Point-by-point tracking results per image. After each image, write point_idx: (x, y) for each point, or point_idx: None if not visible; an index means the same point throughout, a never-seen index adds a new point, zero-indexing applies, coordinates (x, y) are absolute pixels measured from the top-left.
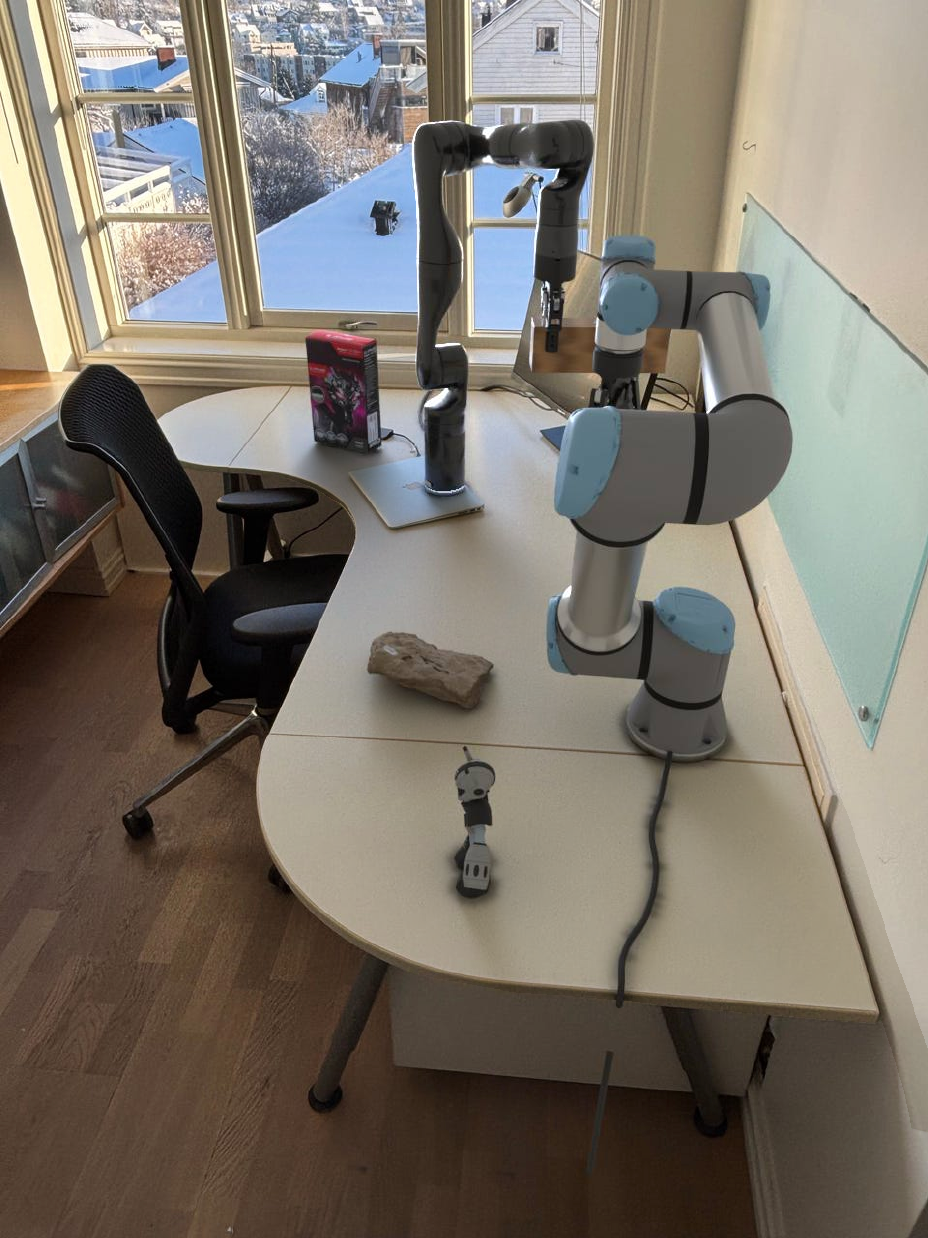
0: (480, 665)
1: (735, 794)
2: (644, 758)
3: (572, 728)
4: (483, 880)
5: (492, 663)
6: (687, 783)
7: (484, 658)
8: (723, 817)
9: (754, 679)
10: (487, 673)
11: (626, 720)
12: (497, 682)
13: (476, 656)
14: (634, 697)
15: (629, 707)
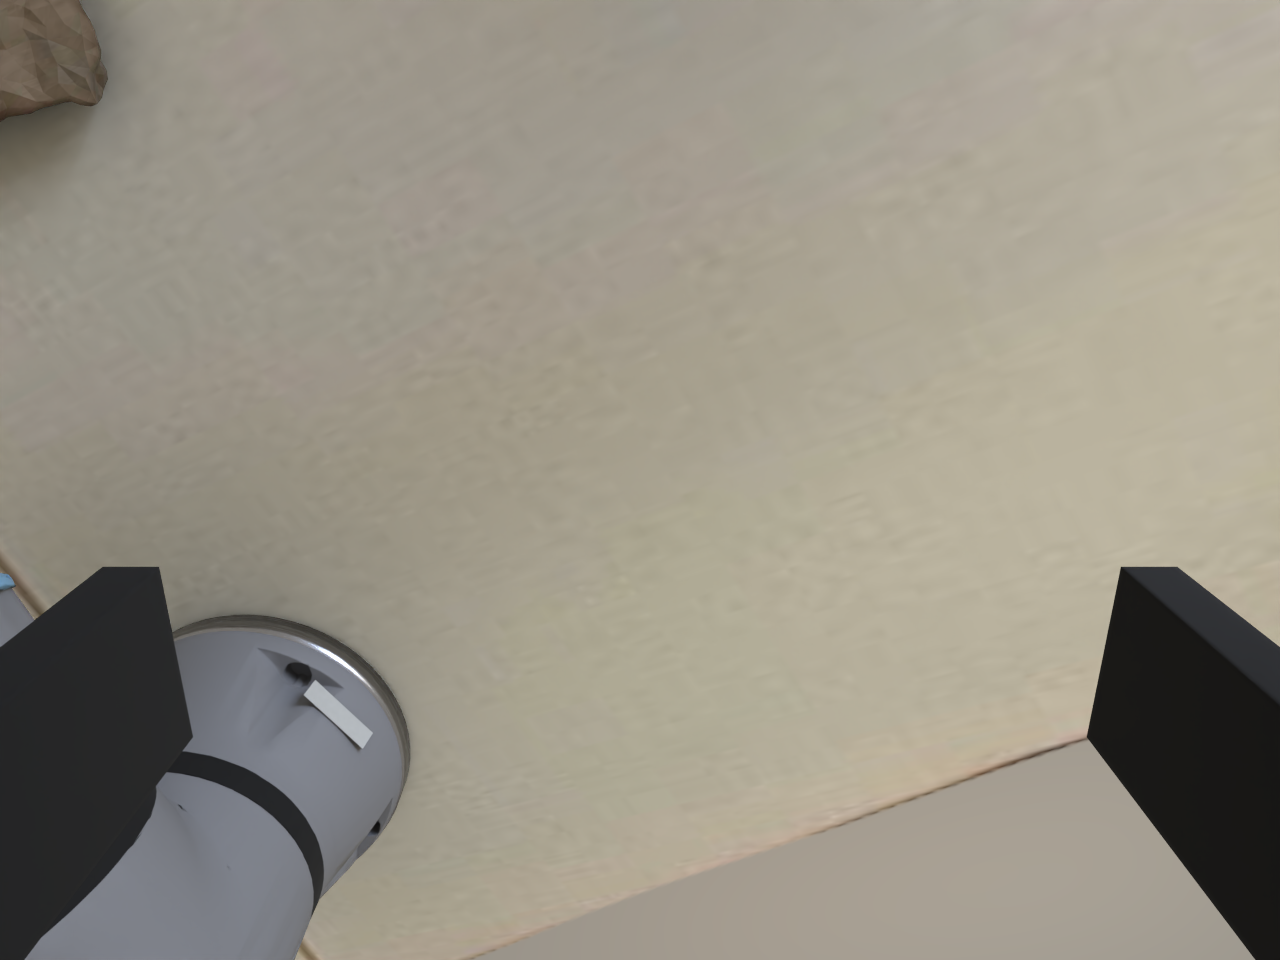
0: (3, 70)
1: None
2: None
3: (63, 496)
4: None
5: (89, 96)
6: None
7: (84, 48)
8: None
9: (629, 845)
10: (15, 115)
11: (175, 635)
12: (83, 150)
13: (52, 13)
14: (195, 669)
15: (187, 648)
